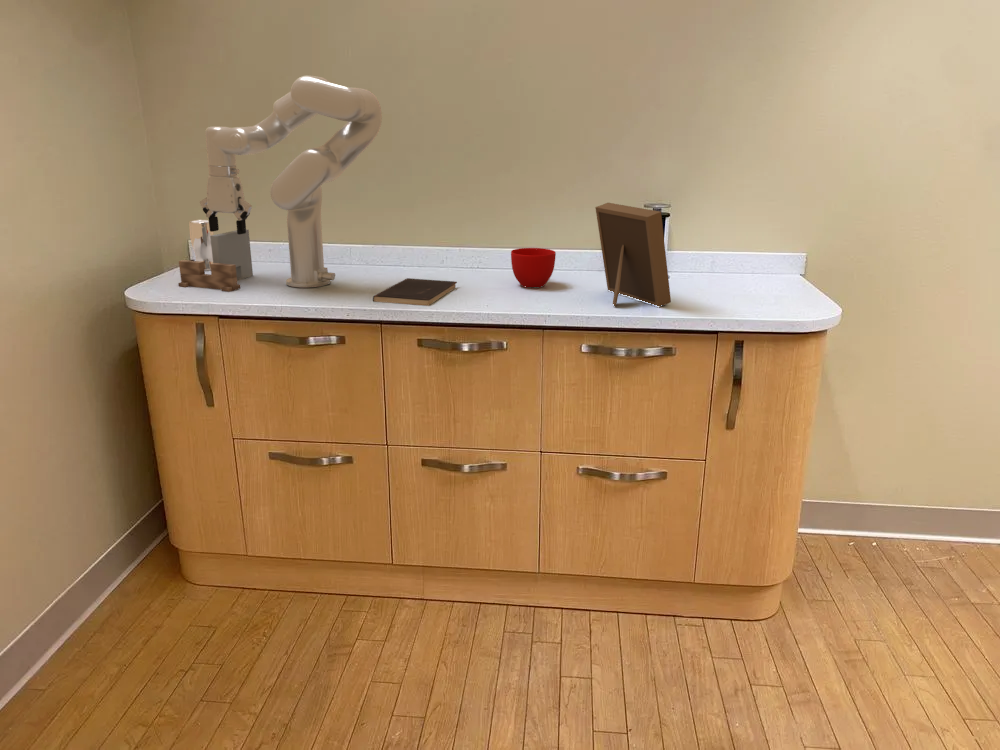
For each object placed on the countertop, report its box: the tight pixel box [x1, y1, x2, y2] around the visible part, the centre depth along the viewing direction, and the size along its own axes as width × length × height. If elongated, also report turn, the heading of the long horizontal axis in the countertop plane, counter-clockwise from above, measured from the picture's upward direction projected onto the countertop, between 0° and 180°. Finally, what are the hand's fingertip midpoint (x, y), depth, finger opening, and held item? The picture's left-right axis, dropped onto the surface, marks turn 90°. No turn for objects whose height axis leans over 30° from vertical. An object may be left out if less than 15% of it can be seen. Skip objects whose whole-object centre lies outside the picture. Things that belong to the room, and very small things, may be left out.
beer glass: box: [188, 219, 215, 272], centre depth 240 cm, size 7×7×15 cm
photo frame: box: [594, 202, 672, 307], centre depth 203 cm, size 15×22×25 cm
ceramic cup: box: [510, 247, 557, 288], centre depth 224 cm, size 13×17×10 cm
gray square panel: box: [210, 229, 254, 280], centre depth 225 cm, size 2×14×14 cm, turn 160°
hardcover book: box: [372, 277, 458, 307], centre depth 212 cm, size 16×23×2 cm
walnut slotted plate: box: [178, 259, 242, 293], centre depth 216 cm, size 18×5×7 cm, turn 70°
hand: (227, 232), depth 222 cm, fingers open, 9 cm apart
